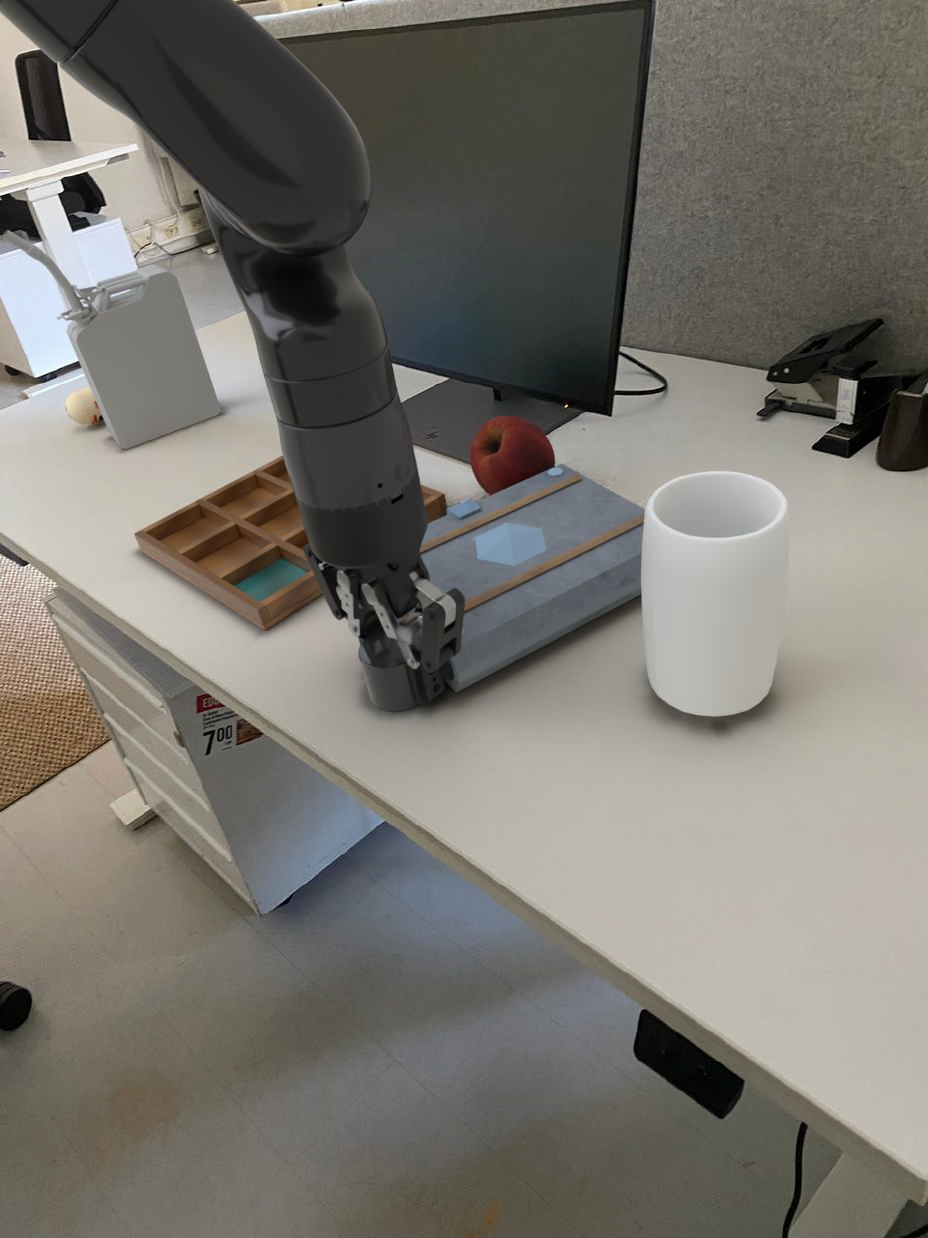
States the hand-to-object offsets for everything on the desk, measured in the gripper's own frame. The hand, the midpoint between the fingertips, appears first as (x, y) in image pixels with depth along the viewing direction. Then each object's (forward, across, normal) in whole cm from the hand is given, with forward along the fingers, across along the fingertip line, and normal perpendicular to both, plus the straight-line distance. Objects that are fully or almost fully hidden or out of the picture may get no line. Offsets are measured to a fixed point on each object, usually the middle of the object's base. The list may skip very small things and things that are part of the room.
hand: (405, 682), depth 62 cm
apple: (0, -11, +24) cm, 26 cm away
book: (0, -1, +13) cm, 13 cm away
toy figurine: (+1, -70, +13) cm, 71 cm away
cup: (0, +17, +12) cm, 21 cm away
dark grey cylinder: (0, 0, -1) cm, 1 cm away
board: (0, -25, +8) cm, 26 cm away
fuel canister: (+1, -60, +13) cm, 61 cm away
